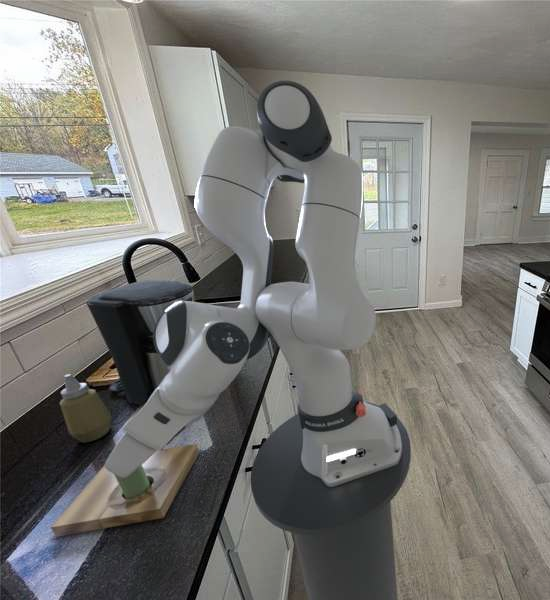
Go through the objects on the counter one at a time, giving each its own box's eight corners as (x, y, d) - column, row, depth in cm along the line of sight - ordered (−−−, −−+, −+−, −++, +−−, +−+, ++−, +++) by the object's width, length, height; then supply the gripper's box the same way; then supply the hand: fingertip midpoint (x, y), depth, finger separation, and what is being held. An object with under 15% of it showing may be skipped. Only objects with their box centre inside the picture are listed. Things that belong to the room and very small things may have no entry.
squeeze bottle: (85, 427, 84) (58, 370, 78) (122, 420, 86) (97, 363, 80) (66, 450, 77) (33, 388, 70) (106, 441, 79) (78, 381, 73)
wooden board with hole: (199, 452, 74) (196, 443, 74) (163, 518, 60) (159, 508, 59) (115, 464, 72) (111, 456, 71) (55, 537, 57) (50, 527, 56)
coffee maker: (207, 402, 92) (174, 294, 80) (77, 424, 85) (20, 309, 74) (228, 362, 113) (204, 272, 101) (125, 377, 106) (86, 283, 94)
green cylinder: (157, 485, 66) (140, 443, 62) (146, 504, 62) (126, 460, 58) (135, 489, 66) (116, 447, 62) (122, 508, 62) (101, 464, 58)
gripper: (205, 355, 63) (174, 395, 67) (115, 432, 44) (80, 481, 48) (232, 373, 65) (200, 411, 69) (156, 455, 46) (118, 501, 50)
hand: (150, 440), depth 58 cm, fingers open, 8 cm apart
